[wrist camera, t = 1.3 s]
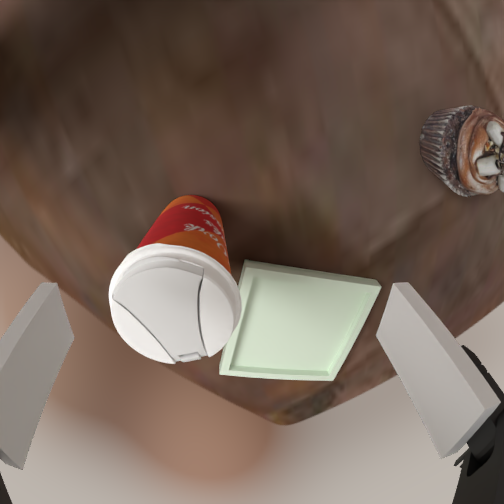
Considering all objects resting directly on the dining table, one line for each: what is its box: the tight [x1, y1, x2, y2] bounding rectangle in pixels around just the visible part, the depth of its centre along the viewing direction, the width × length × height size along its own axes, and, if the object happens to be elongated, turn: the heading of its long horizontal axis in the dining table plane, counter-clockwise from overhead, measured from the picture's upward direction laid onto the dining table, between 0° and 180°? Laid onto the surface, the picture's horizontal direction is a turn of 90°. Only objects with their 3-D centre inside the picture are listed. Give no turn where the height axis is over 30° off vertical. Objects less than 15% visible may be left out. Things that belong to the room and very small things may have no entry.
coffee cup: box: [109, 195, 242, 364], centre depth 24 cm, size 8×8×15 cm
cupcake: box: [420, 105, 504, 197], centre depth 24 cm, size 10×10×10 cm
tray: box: [219, 260, 381, 381], centre depth 37 cm, size 16×16×2 cm
